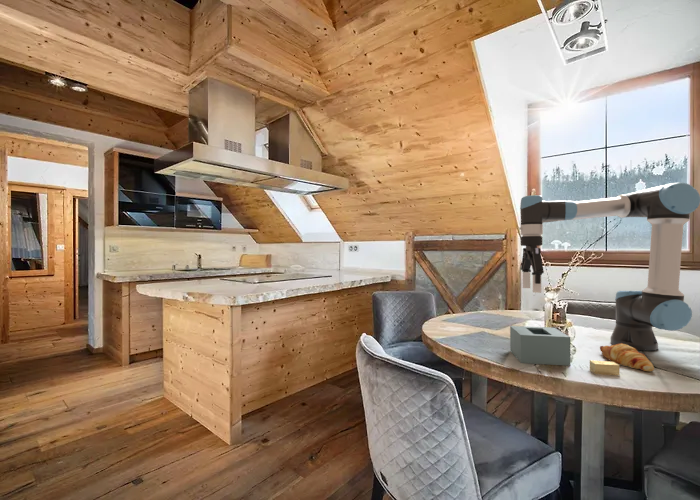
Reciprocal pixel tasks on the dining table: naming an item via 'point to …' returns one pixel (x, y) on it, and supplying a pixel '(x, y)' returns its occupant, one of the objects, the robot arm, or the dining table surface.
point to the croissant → (627, 356)
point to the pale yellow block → (604, 367)
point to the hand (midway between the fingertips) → (531, 290)
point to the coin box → (540, 345)
